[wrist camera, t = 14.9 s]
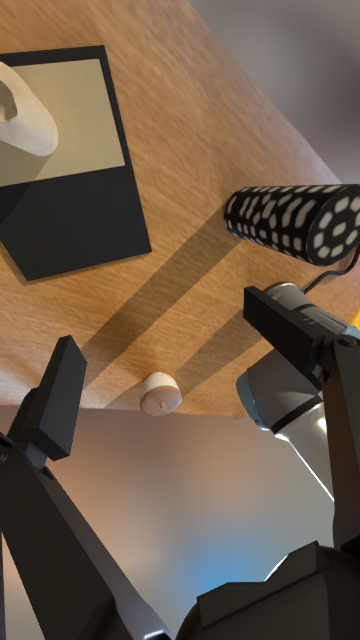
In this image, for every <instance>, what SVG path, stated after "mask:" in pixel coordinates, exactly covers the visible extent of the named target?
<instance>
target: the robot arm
mask: <svg viewBox="0 0 360 640" xmlns="http://www.w3.org/2000/svg"><path fill="white" fill-rule="evenodd" d="M359 255H360V244H359V245H358V247H357V250H356V252H355V255H354V258H353V260H352V262H351V264H350V265H349V266H348V268H347V269H345V270H344V271H342V272H337V271H327V272H325V273H323V274H322V275H320V276H319V277H318V278H317V279H316V280H315V281H314V282H313V283H312V284H311V285H310V286H308V287H307V288H306V289H305V290H304V291H302V290H301V289H300V288H299V287H298V286H296V285H295V284H293V283H290V282H279V283H276V284H274V285H272V286H270V287H268V288H267V289H265V290H264V291H263V292H262V291H261V290H259V289H258V288H256V287H255V286H250V287H246V288H244V310H243V317H244V318H245V319H246V320H247V321H248V322H249V323H250V324H251V326H252V327H253V328H254V329H255V330H256V331H257V332H258V333H260V334H261V335H262V336H263V337H264V338H265V339H266V340H267V341H268V342H269V343H270V344H271V345H272V346H273V347H274V349H273V350H271V351H270V352H269V353H268V354H266V355H265V356H264V357H263V358H261V359H260V360H259V361H258V362H256V363H255V364H254V365H253V366H251V367H249V368H247V370H246V371H245V372H244V373H243V374H242V375H241V376H240V377H239V378H238V379H237V382H236V387H237V392H238V395H239V397H240V400H241V402H242V404H243V406H244V408H245V409H246V411H247V413H248V414H249V416H250V417H251V418H252V419H253V420H254V422H255V423H256V425H257V426H258V427H259V428H261V429H262V430H269V429H271V431H272V432H273V434H274V435H275V436H276V437H278V438H282V439H285V440H287V441H289V442H290V444H291V445H292V446H293V448H294V449H295V450H296V452H297V453H298V454H299V456H300V457H301V458H302V460H303V461H304V462H305V463H306V465H307V466H308V467H309V469H310V470H311V471H312V473H313V474H314V475H315V477H316V478H317V479H318V481H319V482H320V483H321V485H322V486H323V487H324V489H325V490H326V491H327V492H328V494H329V495H330V497H331V498H332V499H333V501H334V505H335V514H334V519H333V542H334V548H332V547H327V546H320V545H319V543H318V542H317V540H316V541H314V542H312V543H310V544H308V545H306V546H303V547H302V548H299V549H297V550H295V551H293V552H291V553H289V554H288V555H287V556H286V557H285V558H284V559H283V560H282V561H280V562H279V563H278V564H277V566H276V567H275V568H274V569H273V570H272V571H271V573H270V574H269V575H268V576H267V577H266V578H265V580H264V581H263V582H228V583H226V584H223V585H221V586H219V587H217V588H215V589H213V590H211V591H209V592H207V593H204V594H202V595H200V596H198V597H197V603H196V604H195V605H194V606H193V607H192V609H191V610H190V612H189V613H188V614H187V616H186V617H185V619H184V622H183V623H182V625H181V627H180V629H179V632H178V634H177V636H176V639H175V638H174V636H173V635H172V634H171V632H170V631H169V630H168V628H167V627H166V625H165V624H164V623H163V621H162V620H161V619H160V617H159V616H158V615H157V613H156V612H155V611H154V610H153V609H152V608H151V607H150V606H149V605H148V604H147V603H146V602H145V601H144V600H143V599H142V598H141V596H140V595H139V594H138V592H137V591H136V589H135V588H134V587H133V586H132V584H131V583H130V581H129V580H128V578H127V577H126V576H125V574H124V573H123V572H122V570H121V569H120V567H119V566H118V564H117V563H116V562H115V560H114V559H113V557H112V556H111V555H110V553H109V552H108V550H107V549H106V548H105V546H104V545H103V543H102V542H101V541H100V539H99V538H98V537H97V535H96V534H95V532H94V531H93V530H92V528H91V527H90V525H89V524H88V523H87V521H86V520H85V518H84V517H83V516H82V514H81V513H80V512H79V510H78V509H77V507H76V506H75V504H74V503H73V502H72V500H71V499H70V498H69V496H68V495H67V493H66V492H65V490H64V489H63V488H62V486H61V485H60V484H59V482H58V481H57V479H56V478H55V477H54V475H53V474H52V472H51V471H50V470H49V468H48V467H47V466H45V463H46V459H47V456H48V457H49V458H50V459H51V460H53V461H56V460H58V459H62V458H65V457H67V456H69V455H70V452H71V446H72V441H73V435H74V430H75V425H76V419H77V414H78V409H79V404H80V398H81V393H82V388H83V382H84V377H85V372H86V366H87V361H86V360H85V358H84V356H83V355H82V353H81V351H80V350H79V348H78V346H77V345H76V343H75V341H74V340H73V338H72V336H71V335H68V336H64V337H61V338H59V339H58V342H57V344H56V347H55V349H54V351H53V354H52V356H51V359H50V361H49V363H48V366H47V368H46V371H45V373H44V375H43V378H42V380H41V383H40V385H39V387H36V388H33V389H31V390H30V392H29V393H28V394H27V395H26V396H25V397H24V399H23V402H22V404H21V406H20V408H19V410H18V412H17V416H16V417H15V419H14V421H13V423H12V425H11V427H10V430H9V432H8V434H7V436H5V435H4V434H2V433H1V432H0V640H6V632H5V606H4V580H3V556H2V533H3V536H4V538H5V540H6V543H7V546H8V548H9V550H10V553H11V556H12V558H13V560H14V563H15V565H16V568H17V570H18V573H19V575H20V578H21V580H22V583H23V585H24V588H25V590H26V593H27V595H28V598H29V600H30V603H31V605H32V607H33V610H34V613H35V615H36V618H37V620H38V623H39V625H40V628H41V630H42V632H43V635H44V638H45V640H360V331H359V330H358V329H357V328H356V327H355V326H352V325H350V324H348V323H346V322H344V321H343V320H341V319H339V318H337V317H335V316H334V315H332V314H330V313H328V312H326V311H325V310H323V309H321V308H319V307H318V306H316V305H314V304H313V303H312V302H311V301H310V300H309V299H308V297H306V296H305V294H306V293H307V292H309V291H310V290H311V289H312V288H313V287H315V286H316V285H317V284H318V283H319V282H320V281H321V280H322V279H323V278H324V277H325V276H327V275H331V274H332V275H339V276H340V275H344V274H346V273H348V272H349V271H350V270H351V269H352V268H353V267H354V266H355V264H356V262H357V260H358V258H359ZM321 391H322V392H323V400H322V399H321V398H320V397H319V396H318V393H319V392H321Z"/></svg>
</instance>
